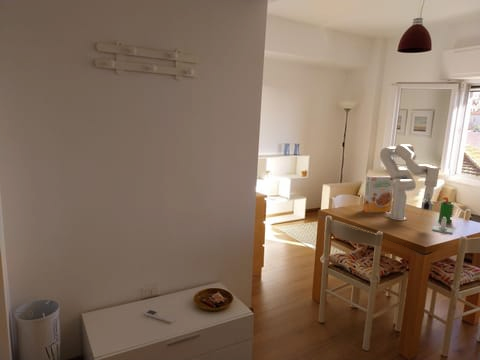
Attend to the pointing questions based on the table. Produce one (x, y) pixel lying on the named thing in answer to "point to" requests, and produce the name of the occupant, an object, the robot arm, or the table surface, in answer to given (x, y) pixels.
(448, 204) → the green toy figure
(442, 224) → the shaft block
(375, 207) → the cereal box
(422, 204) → the hub
